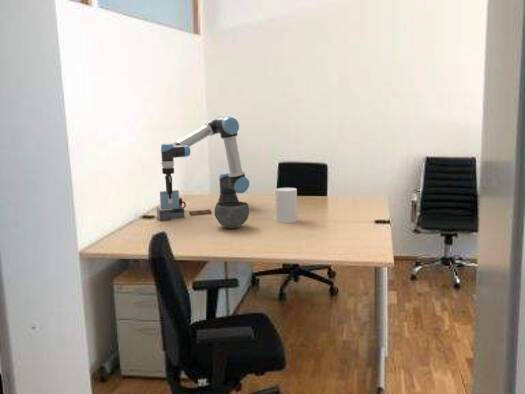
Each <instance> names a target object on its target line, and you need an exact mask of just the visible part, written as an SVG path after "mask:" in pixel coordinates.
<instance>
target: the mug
mask: <svg viewBox="0 0 525 394" xmlns="http://www.w3.org/2000/svg"><path fill="white" fill-rule="evenodd" d="M179 205H181V206H182V207H183V208H184V209H185V208H186V207H187V204H186V202H185V200H184V201H183V197H180V196H179Z"/></svg>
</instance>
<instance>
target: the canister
mask: <svg viewBox="0 0 525 394" xmlns="http://www.w3.org/2000/svg"><path fill="white" fill-rule="evenodd" d="M297 190H298V189H297V188H296V187H278V188H275V189H274V194H275V195H274V197H275V198H274V199H275V222H277V223H279V224H280V223H281V224H292V223H296V222H298V191H297Z"/></svg>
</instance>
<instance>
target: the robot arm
mask: <svg viewBox="0 0 525 394" xmlns="http://www.w3.org/2000/svg"><path fill="white" fill-rule="evenodd" d="M239 129H240V123H239V121H238V120H237V118H235V117H231V116H216V117H214V118H213V119H210V120H208V121H207V122H206V123H204V124H203V126H202V127H200V128H198V129H196V130H194V131H191V133H189V134H187V135H185V136H183V137H181V138H180V139H178V140H176V141H175V142H172V143H171V142H170V143H169V142H168V143H162V144H160V145H161V146H160V147H161V148H160V149H161V150H160V153H161V154H160V155H161V163H160V164H161V167H162V168H161V169H162V170H161V171H162V172H161V173H162V175H163V174H164V175H165V176H164V179H165V191H168V193H167V194H168V204H172V191H173V176H172V174H174V173H175V168H174V167H175V161H174V159H175V158H186V157H190V155H191V147H192V146H193V145H194V144H196V143H197V144H198V142H200V141H202V140H204V139H206V138H207V137H209V136H210V137H212V136H213V135H216V134H217V135H218V134H219V135H220V138H221V139H222V140H223V144H224V148H225V154H226V159H227V160H226V161H227V165H228V170H229V171H228V172H227V173H220V174H219V198H218V201H217V203H218V202H222V201H239V199H238V195H237V194H244V193H246V192H248V189H249V188H250V181H249V178H247V176H246V174H245V171H243V170H242V164H241V160H240V159H241V158H240V154H239V148H238V141H237V137H238V132H239ZM239 202H240V201H239Z"/></svg>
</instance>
